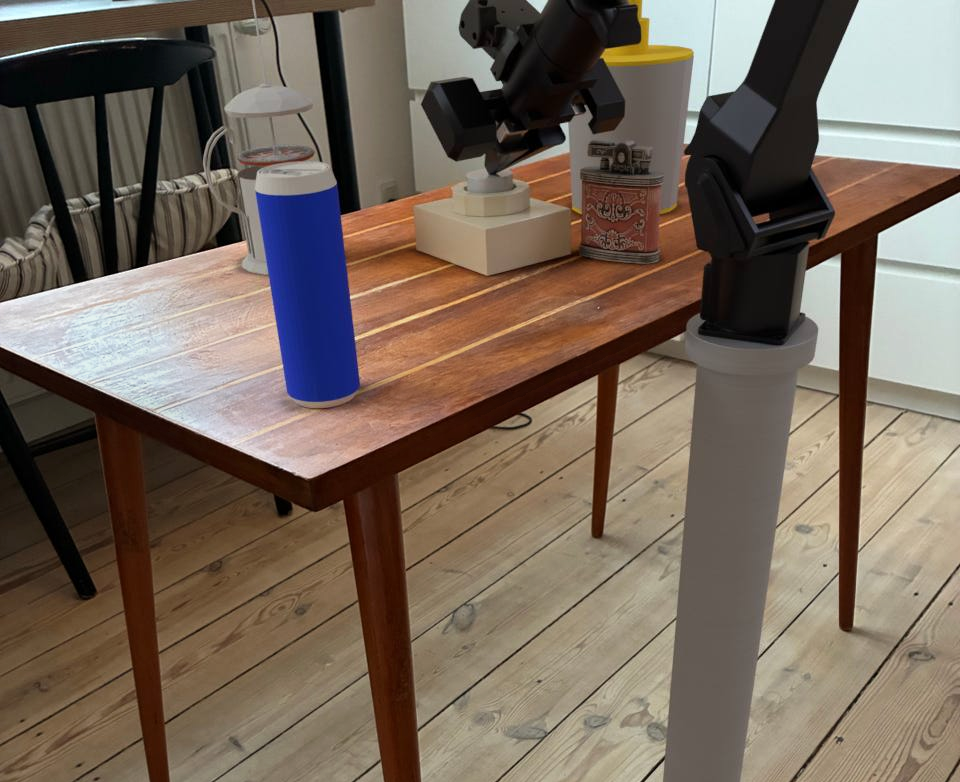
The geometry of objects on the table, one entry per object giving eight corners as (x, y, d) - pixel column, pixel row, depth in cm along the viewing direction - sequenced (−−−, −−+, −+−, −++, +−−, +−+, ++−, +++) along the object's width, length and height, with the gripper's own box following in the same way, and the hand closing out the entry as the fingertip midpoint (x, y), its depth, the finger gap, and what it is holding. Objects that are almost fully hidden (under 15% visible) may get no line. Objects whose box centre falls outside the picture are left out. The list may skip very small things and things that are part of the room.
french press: (354, 264, 100) (318, -47, 85) (234, 284, 96) (176, -37, 82) (326, 241, 107) (289, -49, 93) (214, 258, 104) (157, -40, 89)
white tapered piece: (576, 190, 120) (578, -26, 108) (690, 192, 117) (706, -31, 105) (552, 219, 110) (551, -16, 98) (676, 222, 107) (691, -20, 95)
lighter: (665, 256, 98) (672, 140, 92) (649, 266, 95) (656, 147, 90) (589, 246, 101) (591, 134, 95) (572, 255, 99) (573, 141, 93)
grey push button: (523, 196, 98) (522, 172, 97) (485, 204, 96) (484, 181, 95) (495, 188, 101) (494, 166, 100) (458, 196, 99) (456, 173, 98)
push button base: (571, 254, 100) (571, 187, 96) (487, 276, 95) (484, 207, 91) (496, 230, 108) (494, 168, 104) (416, 250, 103) (411, 185, 100)
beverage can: (372, 385, 75) (348, 161, 66) (342, 413, 71) (312, 179, 62) (308, 379, 76) (276, 159, 68) (275, 406, 72) (236, 177, 64)
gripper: (608, -52, 88) (529, 82, 102) (424, -35, 79) (366, 109, 93) (668, 61, 87) (580, 181, 101) (489, 90, 79) (420, 217, 92)
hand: (489, 169), depth 97 cm, fingers closed, pressing on grey push button
